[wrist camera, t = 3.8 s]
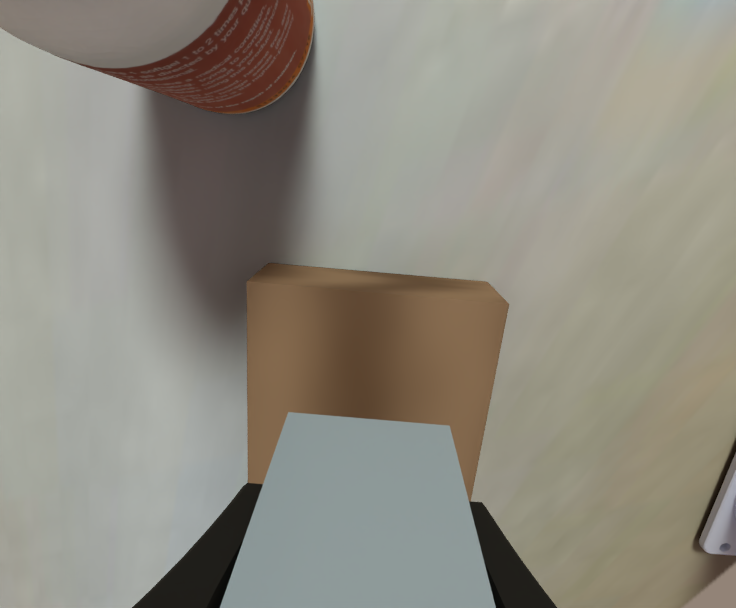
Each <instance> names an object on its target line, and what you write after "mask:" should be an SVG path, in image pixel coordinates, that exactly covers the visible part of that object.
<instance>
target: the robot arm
mask: <svg viewBox="0 0 736 608" xmlns="http://www.w3.org/2000/svg"><path fill="white" fill-rule="evenodd" d="M262 486H263V484H256V483H247V484H246V485H244V486H243V487H242V489H241V490H240V491H239V492H238V494H237V495H236V496H235V498H234V499H233V500H232V501H231V503H230V504H229V505H228V506H227V508H226V509H225V510H224V511H223V512H222V514H221V515H220V516H219V517H218V518H217V519H216V521H215V522H214V523H213V524H212V525H211V527H210V528H209V529H208V530H207V531H206V532H205V533H204V534H203V536H202V537H201V538H200V539H199V540H198V541H197V542H196V543H195V544H194V546H193V547H192V548H191V549H190V550H189V551H188V552H187V553H186V554H185V555H184V557H183V558H182V559H181V560H180V561H179V562H178V563H177V564H176V565H175V566H174V567H173V568H172V569H171V570H170V571H169V572H168V573H167V574H166V575H165V576H164V577H163V578H162V579H161V580H160V581H159V582H158V583H157V584H156V585H155V586H154V587H153V588H152V589H151V590H150V591H149V592H148V593H147V594H146V595H145V596H144V597H143V598H142V599H141V600H140V601H139V602H138V603H137V604H135V605H134V606H133V607H132V608H220V606H221V603H222V600H223V597H224V594H225V592H226V589H227V586H228V583H229V580H230V577H231V574H232V572H233V569H234V566H235V563H236V560H237V557H238V554H239V552H240V549H241V546H242V543H243V540H244V537H245V534H246V532H247V529H248V526H249V523H250V520H251V517H252V514H253V512H254V509H255V506H256V503H257V500H258V497H259V494H260V492H261V489H262ZM469 504H470V508H471V512H472V516H473V520H474V524H475V528H476V531H477V535H478V539H479V543H480V547H481V551H482V555H483V559H484V563H485V567H486V571H487V575H488V579H489V583H490V587H491V591H492V595H493V599H494V602H495V606H496V608H557V607H556V606H555V604H554V603H553V602H552V600H551V599H550V598H549V596H548V595H547V594H546V593H545V591H544V590H543V589H542V587H541V586H540V585H539V583H538V582H537V581H536V579H535V578H534V576H533V575H532V574H531V572H530V571H529V570H528V568H527V567H526V566H525V564H524V563H523V561H522V560H521V559H520V557H519V556H518V554H517V553H516V552H515V550H514V549H513V547H512V546H511V544H510V543H509V541H508V540H507V539H506V537H505V536H504V534H503V533H502V531H501V530H500V528H499V527H498V525H497V524H496V522H495V521H494V519H493V518H492V516H491V515H490V513H489V512H488V510H487V509H486V507H485V506H484V505H483V503H482V502H470V501H469ZM699 544H700V546H701V547H702V548H703V549H704V551H706V552H707V553H711V554H722V555H734V556H736V453H735V456H734V458H733V460H732V463H731V465H730V467H729V470H728V472H727V475H726V477H725V479H724V482H723V484H722V487H721V489H720V491H719V494H718V496H717V499H716V501H715V503H714V506H713V508H712V510H711V513H710V515H709V518H708V520H707V522H706V525H705V527H704V530H703V532H702V534H701V537H700V539H699Z"/></svg>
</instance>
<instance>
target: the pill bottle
mask: <svg viewBox="0 0 736 608" xmlns="http://www.w3.org/2000/svg"><path fill="white" fill-rule="evenodd" d="M0 27H1V28H2V29H4V30H5V31H7V32H8V33H10V34H12V35H13V36H15V37H17V38H19V39H20V40H22V41H25V42H27V43H29V44H31V45H33V46H35V47H37V48H39V49H42V50H44V51H47V52H49V53H51V54H53V55H55V56H58V57H60V58H63V59H66V60H69V61H71V62H74V63H77V64H79V65H82V66H85V67H88V68H91V69H94V70H97V71H99V72H102V73H105V74H108V75H111V76H113V77H116V78H119V79H122V80H125V81H128V82H130V83H133V84H136V85H139V86H141V87H144V88H147V89H150V90H153V91H155V92H158V93H161V94H164V95H166V96H169V97H172V98H174V99H177V100H180V101H183V102H185V103H188V104H190V105H193V106H196V107H198V108H201V109H204V110H208V111H213V112H218V113H224V114H242V113H248V112H253V111H256V110H259V109H261V108H264V107H266V106H268V105H270V104H272V103H273V102H275V101H276V100H278V99H279V98H280V97H281V96H283V95H284V94H285V93H286V92H287V91H288V90H289V89H290V88H291V87H292V85H293V84H294V83H295V81H296V80H297V78H298V77H299V75H300V73H301V72H302V70H303V68H304V65H305V63H306V61H307V58H308V55H309V52H310V48H311V44H312V39H313V32H314V4H313V0H0Z"/></svg>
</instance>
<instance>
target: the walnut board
mask: <svg viewBox="0 0 736 608" xmlns="http://www.w3.org/2000/svg"><path fill="white" fill-rule="evenodd" d="M508 307H509V304H508V303H507V301H506V300H505V299H504V298H503V297H502V296H501V295H500V294H499V293H498V292H497V291H496V290H495V289H494V288H493V287H492V286H491V285H490V284H489V283H488V282H483V281H471V280H460V279H448V278H437V277H425V276H413V275H402V274H390V273H379V272H367V271H356V270H344V269H332V268H321V267H309V266H298V265H286V264H275V263H268V264H267V265H266V266H265V267H263V268H262V269H261V270H260V271H259V272H257V273H256V274H255V275H254V276H253V277H252V278H250V279H249V280H248V281H247V406H248V483H256V484H263V483H264V480H265V477H266V474H267V472H268V469H269V466H270V463H271V460H272V457H273V454H274V452H275V449H276V446H277V443H278V440H279V437H280V434H281V432H282V429H283V426H284V423H285V420H286V417H287V414H288V412H293V413H305V414H317V415H329V416H341V417H353V418H365V419H377V420H388V421H400V422H412V423H424V424H436V425H448V426H450V429H451V433H452V437H453V441H454V445H455V449H456V453H457V456H458V460H459V464H460V468H461V472H462V476H463V480H464V484H465V488H466V492H467V496H468V500H469V501H471V496H472V491H473V486H474V481H475V476H476V471H477V466H478V460H479V455H480V450H481V445H482V440H483V435H484V430H485V425H486V420H487V415H488V409H489V404H490V399H491V394H492V389H493V384H494V379H495V374H496V369H497V364H498V358H499V353H500V348H501V343H502V338H503V333H504V328H505V323H506V318H507V313H508Z"/></svg>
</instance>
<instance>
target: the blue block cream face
mask: <svg viewBox="0 0 736 608" xmlns="http://www.w3.org/2000/svg"><path fill="white" fill-rule="evenodd" d="M220 608H496V606H495V602H494V599H493V595H492V591H491V587H490V583H489V579H488V575H487V571H486V567H485V563H484V559H483V555H482V551H481V547H480V543H479V539H478V535H477V531H476V528H475V524H474V520H473V516H472V512H471V508H470V504H469V500H468V496H467V492H466V488H465V484H464V480H463V476H462V472H461V468H460V464H459V460H458V456H457V453H456V449H455V445H454V441H453V437H452V433H451V429H450V426H448V425H436V424H424V423H412V422H400V421H388V420H377V419H365V418H353V417H341V416H329V415H317V414H305V413H293V412H288V414H287V417H286V420H285V423H284V426H283V429H282V432H281V434H280V437H279V440H278V443H277V446H276V449H275V452H274V454H273V457H272V460H271V463H270V466H269V469H268V472H267V474H266V477H265V480H264V483H263V486H262V489H261V492H260V494H259V497H258V500H257V503H256V506H255V509H254V512H253V514H252V517H251V520H250V523H249V526H248V529H247V532H246V534H245V537H244V540H243V543H242V546H241V549H240V552H239V554H238V557H237V560H236V563H235V566H234V569H233V572H232V574H231V577H230V580H229V583H228V586H227V589H226V592H225V594H224V597H223V600H222V603H221V606H220Z"/></svg>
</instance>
